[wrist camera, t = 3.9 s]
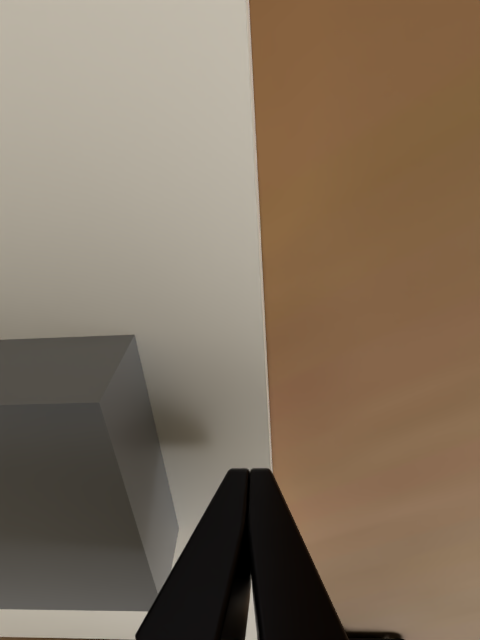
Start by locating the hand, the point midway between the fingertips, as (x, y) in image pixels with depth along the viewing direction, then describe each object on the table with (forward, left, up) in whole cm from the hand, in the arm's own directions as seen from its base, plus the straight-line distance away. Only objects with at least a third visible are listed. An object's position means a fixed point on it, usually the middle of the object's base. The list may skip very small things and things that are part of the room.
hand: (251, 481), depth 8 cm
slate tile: (0, +6, -1) cm, 6 cm away
